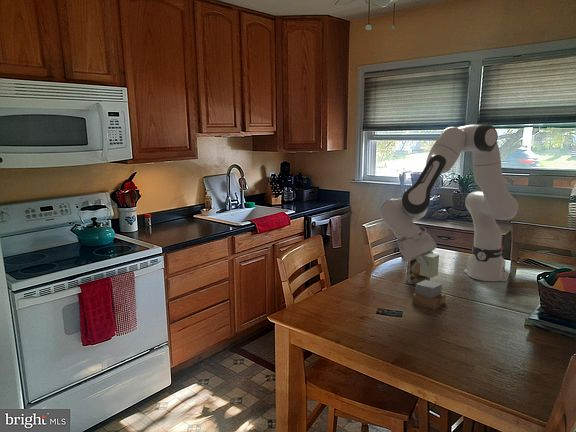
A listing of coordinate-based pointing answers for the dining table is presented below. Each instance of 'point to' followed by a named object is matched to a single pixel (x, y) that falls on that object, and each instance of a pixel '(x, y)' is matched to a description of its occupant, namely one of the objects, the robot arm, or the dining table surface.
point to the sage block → (430, 265)
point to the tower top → (428, 289)
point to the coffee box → (414, 272)
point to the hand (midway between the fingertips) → (431, 264)
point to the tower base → (429, 301)
